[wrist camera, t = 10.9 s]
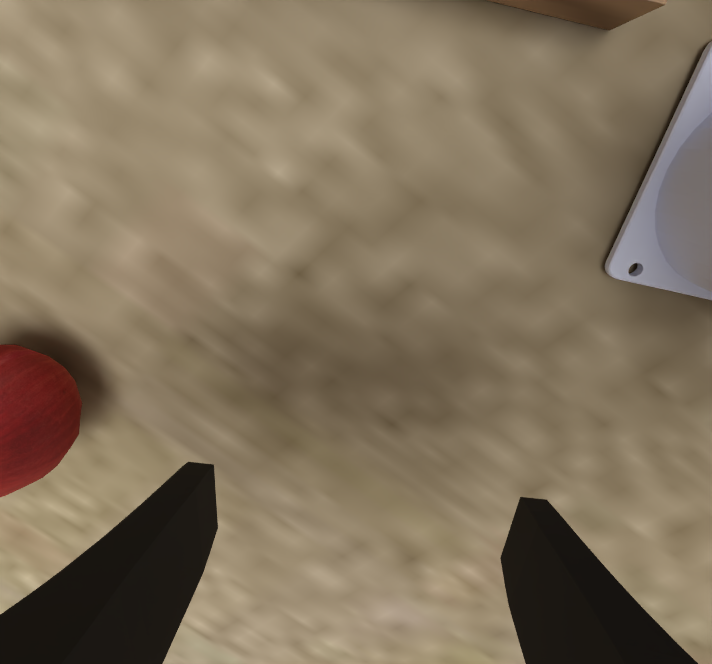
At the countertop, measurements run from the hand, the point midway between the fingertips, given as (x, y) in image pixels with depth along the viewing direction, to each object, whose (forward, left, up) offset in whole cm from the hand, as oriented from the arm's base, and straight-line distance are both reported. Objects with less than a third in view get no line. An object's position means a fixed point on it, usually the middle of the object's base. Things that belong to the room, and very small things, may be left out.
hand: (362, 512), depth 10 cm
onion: (+14, +5, -10) cm, 18 cm away
